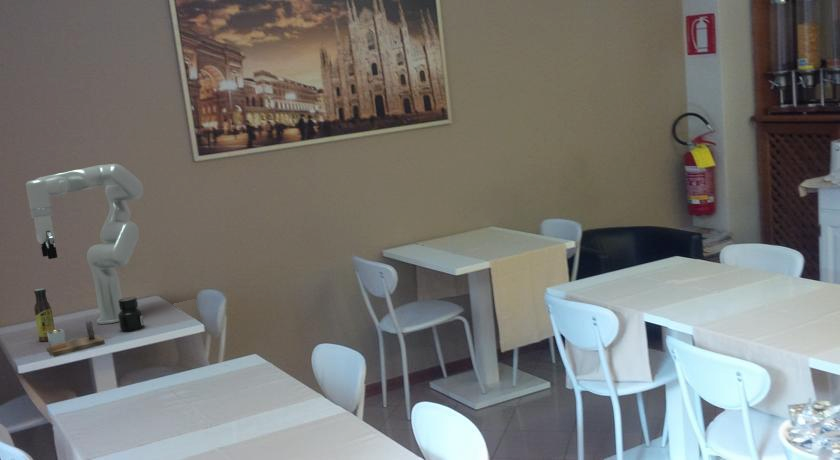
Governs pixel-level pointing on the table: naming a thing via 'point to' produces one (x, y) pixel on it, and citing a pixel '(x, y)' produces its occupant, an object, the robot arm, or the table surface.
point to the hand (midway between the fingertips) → (50, 257)
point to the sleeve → (56, 339)
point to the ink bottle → (130, 315)
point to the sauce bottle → (43, 315)
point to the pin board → (79, 343)
